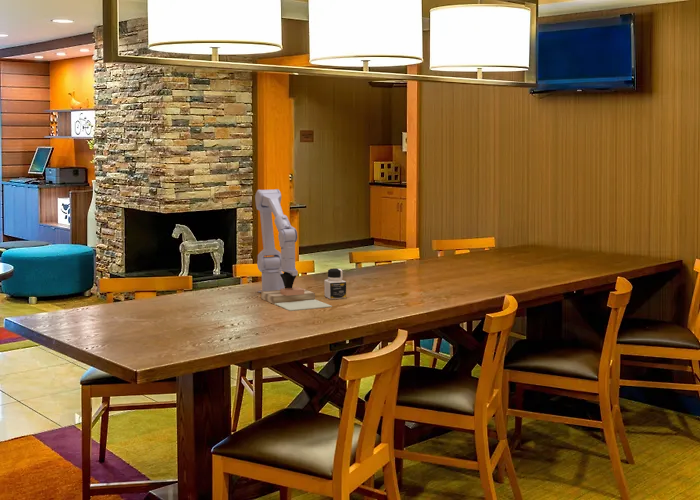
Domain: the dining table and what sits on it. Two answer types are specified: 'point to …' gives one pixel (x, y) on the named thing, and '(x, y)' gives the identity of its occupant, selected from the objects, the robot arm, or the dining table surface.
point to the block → (292, 291)
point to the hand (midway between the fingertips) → (288, 290)
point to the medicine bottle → (335, 284)
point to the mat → (302, 305)
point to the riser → (276, 297)
